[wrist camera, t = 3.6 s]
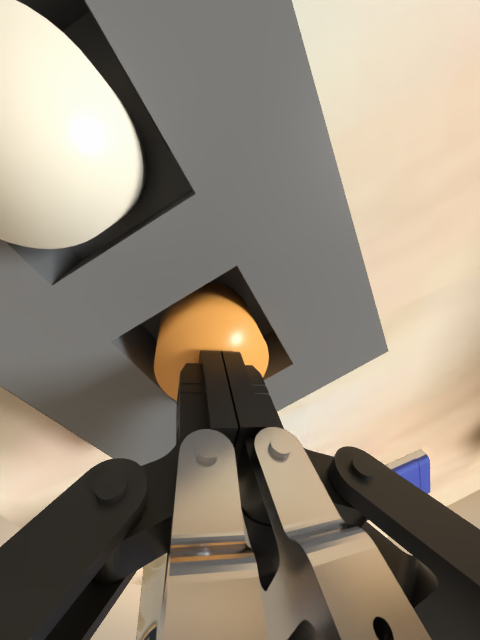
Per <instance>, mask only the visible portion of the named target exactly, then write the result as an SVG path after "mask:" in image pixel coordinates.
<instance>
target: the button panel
mask: <svg viewBox="0 0 480 640" xmlns="http://www.w3.org/2000/svg"><path fill="white" fill-rule="evenodd" d="M16 1H18V2H20V3H22V4H24V5H26V6H28V7H29V8H31V9H32V10H34V11H36V12H37V13H39V14H40V15H42V16H43V17H45V18H46V19H47V20H49V21H50V22H51V23H52V24H53V25H55V26H56V27H57V28H58V29H60V30H61V31H62V32H63V33H64V34H65V35H66V36H67V37H68V38H69V39H70V40H71V41H72V42H73V43H74V44H75V45H76V46H77V47H78V48H79V49H80V50H81V51H82V53H83V54H84V55H85V56H86V57H87V59H88V60H89V61H90V62H91V63H92V65H93V66H94V67H95V68H96V70H97V71H98V72H99V73H100V75H101V76H102V77H103V79H104V80H105V81H106V82H107V84H108V85H109V86H110V87H111V89H112V90H113V91H114V93H115V94H116V95H117V96H118V98H119V99H120V100H121V101H122V103H123V104H124V105H125V107H126V108H127V110H128V111H129V113H130V114H131V116H132V118H133V120H134V122H135V124H136V126H137V128H138V130H139V133H140V135H141V138H142V142H143V145H144V149H145V155H146V166H147V168H146V180H145V185H144V188H143V191H142V194H141V196H140V198H139V200H138V202H137V204H136V205H135V206H134V208H133V209H132V210H131V211H130V212H129V213H128V214H127V215H126V216H124V217H123V218H122V219H120V220H119V221H117V222H116V223H114V224H113V225H112V226H110V227H109V228H107V229H106V230H104V231H103V232H101V233H100V234H99V235H97V236H96V237H94V238H92V239H90V240H88V241H86V242H84V243H81V244H78V245H75V246H71V247H66V248H57V249H38V248H31V247H24V246H20V245H17V244H13V243H9V242H6V241H3V240H1V239H0V386H1V387H2V388H4V389H5V390H7V391H9V392H10V393H12V394H13V395H15V396H16V397H18V398H20V399H21V400H23V401H24V402H26V403H27V404H29V405H30V406H32V407H34V408H35V409H37V410H38V411H40V412H41V413H43V414H45V415H46V416H48V417H49V418H51V419H52V420H54V421H55V422H57V423H59V424H60V425H62V426H63V427H65V428H66V429H68V430H70V431H71V432H73V433H74V434H76V435H77V436H79V437H80V438H82V439H84V440H85V441H87V442H88V443H90V444H91V445H93V446H94V447H96V448H98V449H99V450H101V451H102V452H104V453H105V454H107V455H109V456H110V457H112V458H113V459H115V458H125V459H130V460H133V461H135V462H136V463H138V464H139V465H140V466H142V465H145V464H148V463H150V462H153V461H156V460H158V459H160V458H162V457H164V456H165V455H167V454H168V453H169V452H170V451H171V450H172V449H173V448H174V447H175V445H176V406H177V401H176V400H174V399H173V398H171V397H170V396H169V395H167V394H166V393H165V392H164V391H163V390H162V388H161V387H160V385H159V384H158V382H157V379H156V376H155V372H154V360H155V353H156V346H157V339H158V332H159V325H160V319H161V315H162V312H163V310H164V309H166V308H167V307H169V306H171V305H172V304H174V303H176V302H177V301H179V300H181V299H182V298H184V297H186V296H187V295H189V294H191V293H192V292H194V291H196V290H197V289H199V288H201V287H202V286H204V285H206V284H207V283H214V284H219V285H223V286H226V287H228V288H230V289H232V290H233V291H235V292H236V293H237V294H239V295H240V296H241V297H242V299H243V300H244V301H245V303H246V305H247V307H248V309H249V311H250V313H251V315H252V317H253V318H254V320H255V322H256V324H257V326H258V328H259V330H260V332H261V334H262V336H263V338H264V340H265V342H266V344H267V348H268V353H269V361H268V366H267V370H266V372H265V374H264V376H263V380H264V382H265V386H266V387H267V389H268V392H269V395H270V396H271V399H272V401H273V404H274V406H275V409H276V411H279V410H281V409H283V408H284V407H286V406H288V405H290V404H292V403H294V402H295V401H297V400H299V399H301V398H303V397H305V396H307V395H308V394H310V393H312V392H314V391H316V390H318V389H319V388H321V387H323V386H325V385H327V384H329V383H330V382H332V381H334V380H336V379H338V378H340V377H342V376H343V375H345V374H347V373H349V372H351V371H353V370H354V369H356V368H358V367H360V366H362V365H364V364H365V363H367V362H369V361H371V360H373V359H375V358H377V357H378V356H380V355H382V354H384V353H386V352H388V348H387V345H386V341H385V337H384V334H383V330H382V326H381V323H380V319H379V316H378V312H377V308H376V305H375V301H374V297H373V294H372V290H371V287H370V283H369V279H368V276H367V272H366V268H365V265H364V261H363V258H362V254H361V250H360V247H359V243H358V239H357V236H356V232H355V229H354V225H353V221H352V218H351V214H350V211H349V207H348V203H347V200H346V196H345V192H344V189H343V185H342V182H341V178H340V174H339V171H338V167H337V163H336V160H335V156H334V153H333V149H332V145H331V142H330V138H329V134H328V131H327V127H326V124H325V120H324V116H323V113H322V109H321V105H320V102H319V98H318V95H317V91H316V87H315V84H314V80H313V77H312V73H311V69H310V66H309V62H308V58H307V55H306V51H305V48H304V44H303V40H302V37H301V33H300V29H299V26H298V22H297V19H296V15H295V11H294V8H293V4H292V0H16Z"/></svg>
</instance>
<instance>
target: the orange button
mask: <svg viewBox="0 0 480 640" xmlns="http://www.w3.org/2000/svg"><path fill="white" fill-rule="evenodd" d="M200 350H211V351H233V352H240V353H241V355H242V358H243V361H244V364H245V365H253V366H254V367H255V368H256V369H257V370H258V371H259V372H260V373H261V375H262V377H263V376H264V374H265V372H266V370H267V366H268V361H269V353H268V348H267V344H266V342H265V340H264V338H263V336H262V334H261V332H260V330H259V328H258V326H257V324H256V322H255V320H254V318H253V317H252V315H251V313H250V311H249V309H248V307H247V305H246V303H245V301H244V300H243V299H242V297H241V296H240V295H239V294H237V293H236V292H235V291H233V290H232V289H230V288H228V287H226V286H223V285H219V284H214V283H207V284H206V285H204V286H202V287H201V288H199V289H197V290H196V291H194V292H192V293H191V294H189V295H187V296H186V297H184V298H182V299H181V300H179V301H177V302H176V303H174V304H172V305H171V306H169V307H167V308H166V309H164V310H163V312H162V315H161V319H160V325H159V332H158V339H157V346H156V353H155V360H154V372H155V376H156V379H157V382H158V384H159V385H160V387H161V388H162V390H163V391H164V392H165V393H166V394H167V395H169V396H170V397H171V398H173V399H174V400H176V401H177V395H178V387H179V378H180V372H181V370H182V369H183V367H184V365H185V364H186V363H198V361H199V354H200Z"/></svg>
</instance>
